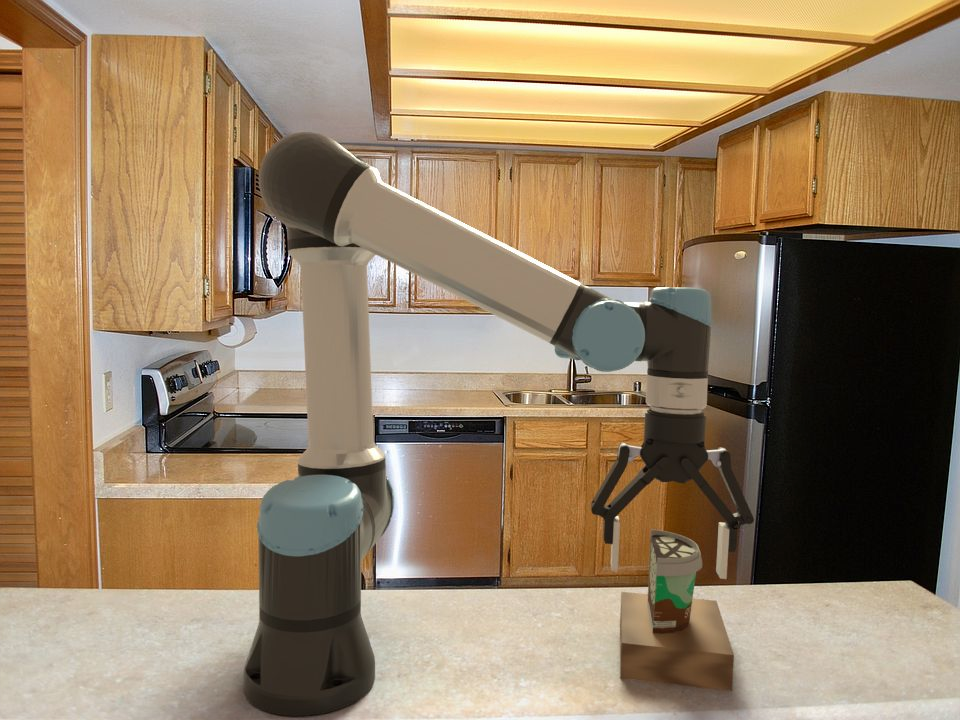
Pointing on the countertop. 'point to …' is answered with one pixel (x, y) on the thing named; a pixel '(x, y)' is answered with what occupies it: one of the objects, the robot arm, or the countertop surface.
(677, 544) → the food container
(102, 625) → the countertop surface
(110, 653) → the countertop surface
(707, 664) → the walnut block
